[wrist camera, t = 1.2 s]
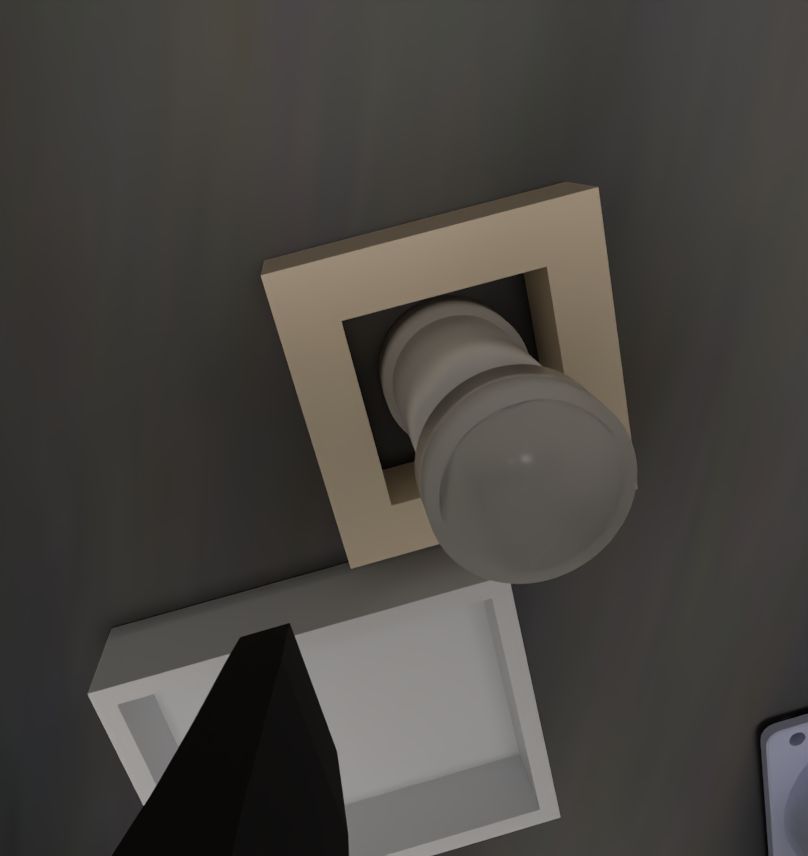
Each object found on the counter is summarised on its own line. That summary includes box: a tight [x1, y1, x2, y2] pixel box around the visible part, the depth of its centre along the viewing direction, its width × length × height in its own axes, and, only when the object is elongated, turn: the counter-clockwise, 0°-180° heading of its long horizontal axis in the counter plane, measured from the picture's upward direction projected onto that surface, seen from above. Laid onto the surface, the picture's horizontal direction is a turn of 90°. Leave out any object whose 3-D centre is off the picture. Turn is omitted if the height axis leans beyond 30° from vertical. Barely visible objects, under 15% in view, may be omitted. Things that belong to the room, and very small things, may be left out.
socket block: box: [261, 182, 638, 569], centre depth 17 cm, size 7×7×2 cm
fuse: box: [378, 295, 637, 584], centre depth 15 cm, size 3×3×7 cm
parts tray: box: [88, 544, 561, 856], centre depth 20 cm, size 10×8×2 cm
